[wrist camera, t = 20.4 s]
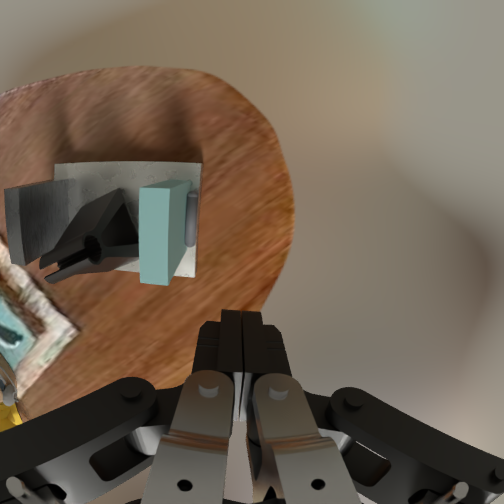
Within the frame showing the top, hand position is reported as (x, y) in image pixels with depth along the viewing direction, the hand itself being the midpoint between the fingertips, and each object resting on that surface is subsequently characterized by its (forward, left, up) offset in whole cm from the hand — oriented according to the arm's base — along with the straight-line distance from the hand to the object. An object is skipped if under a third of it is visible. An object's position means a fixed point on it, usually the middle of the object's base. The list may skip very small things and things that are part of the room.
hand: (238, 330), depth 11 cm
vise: (-13, -7, -24) cm, 28 cm away
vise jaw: (-5, -3, -22) cm, 23 cm away
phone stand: (-12, -9, -22) cm, 27 cm away
